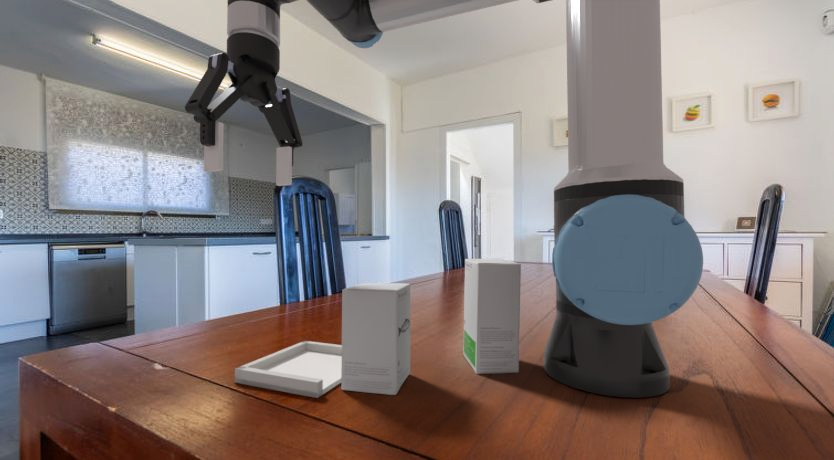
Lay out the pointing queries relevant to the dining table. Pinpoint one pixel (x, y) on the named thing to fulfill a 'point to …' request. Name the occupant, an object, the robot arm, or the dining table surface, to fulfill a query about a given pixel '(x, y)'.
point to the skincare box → (492, 315)
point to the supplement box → (375, 337)
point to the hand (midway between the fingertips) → (252, 179)
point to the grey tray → (296, 369)
